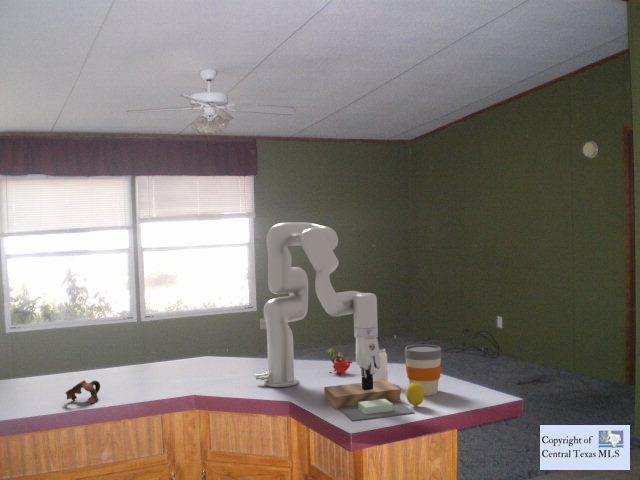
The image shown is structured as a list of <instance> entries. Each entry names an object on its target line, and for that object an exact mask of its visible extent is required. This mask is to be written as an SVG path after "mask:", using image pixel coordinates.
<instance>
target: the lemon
mask: <svg viewBox="0 0 640 480" xmlns="http://www.w3.org/2000/svg"><path fill="white" fill-rule="evenodd" d="M405 396H406V400H407V402H408V403H409V404H410V405H412V406H413V407H414V408H417V407H418V406H419V405H421V404H422V403H423V402H424V399H425V396H424V390H423V387H422V386H421V385H420V384H419V383H417V382H413V383H411V384H410V383H409V384H408V386H407V388H406V394H405Z"/></svg>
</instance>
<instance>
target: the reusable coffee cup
mask: <svg viewBox="0 0 640 480" xmlns="http://www.w3.org/2000/svg"><path fill="white" fill-rule="evenodd" d="M442 356H443V354H442V348H441V347H440V346H438V345H434V344H411V345H407V346H405V348H404V357H405V362H406V363H405V370H406V376H407V379H408V381H409V382H408V383H409V385H410V384H411V383H413V382H417V383H419V384H420V385H421V386H422V387H423V390H424V397H425V396H427V397H428V396H434V395H436V394H438V388H439V380H440V378H441V371H442V364H441V360H442V359H441V358H442Z"/></svg>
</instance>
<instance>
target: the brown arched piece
mask: <svg viewBox="0 0 640 480" xmlns="http://www.w3.org/2000/svg"><path fill="white" fill-rule="evenodd" d="M82 389H83V390H85V391H86V392H89V393H90V395H91V396H90V397H89V398H87V401H88V402H89V404H90V403H93V404H94V403H95V402H97V401H99V398H98V393H99V392H100V389H101V384H100V382H99V381H98V380H92V381H91V382H87V381H86V380H85V379H84V380H82V381H79V382H78V383H77V384H75V385H74V386H72V388H70V389H68V390H67V391H66V392H65V395H66V400H70V399H71V401H73V400H75V399H77V398H78V397H77V396H76V395H77V394H78V395H81V394H82Z"/></svg>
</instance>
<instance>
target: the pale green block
mask: <svg viewBox="0 0 640 480" xmlns="http://www.w3.org/2000/svg"><path fill="white" fill-rule="evenodd" d="M358 408H359V409H360V410H361V411H362V412H364V413H365V414H370V413H378V412H386V411H393V404H392V403H390V402H389V401H388V400H386V399H379V400H370V401H362V402H358Z"/></svg>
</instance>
